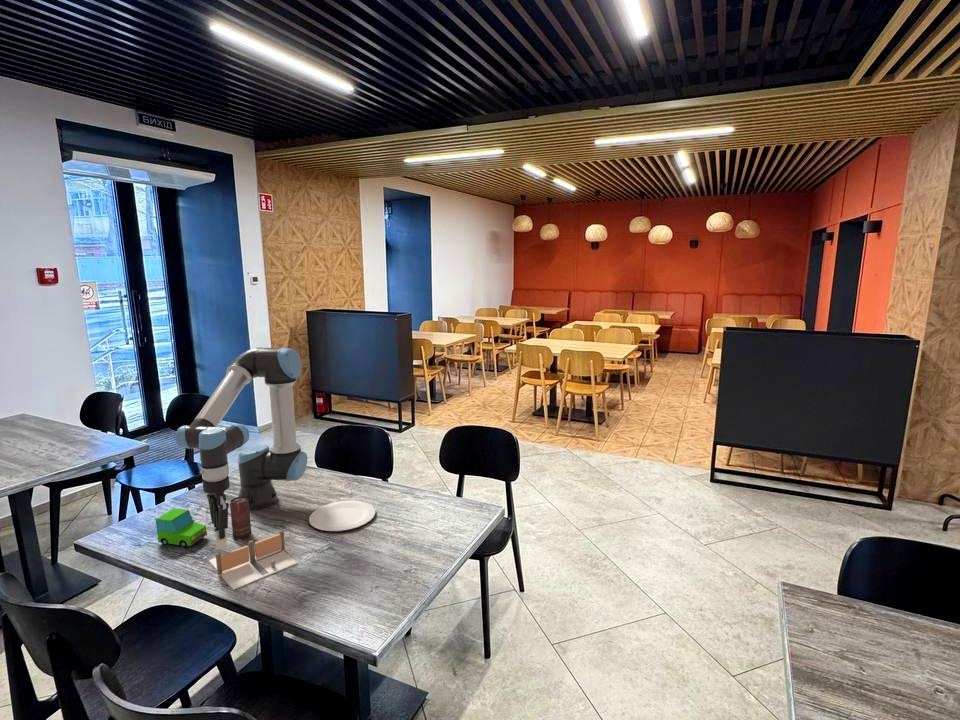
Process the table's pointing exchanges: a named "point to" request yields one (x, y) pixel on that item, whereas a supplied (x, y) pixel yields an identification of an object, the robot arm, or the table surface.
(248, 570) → the card
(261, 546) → the fixed panel
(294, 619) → the table surface
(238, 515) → the can
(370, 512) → the plate
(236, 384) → the robot arm
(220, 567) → the panel
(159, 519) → the toy car
